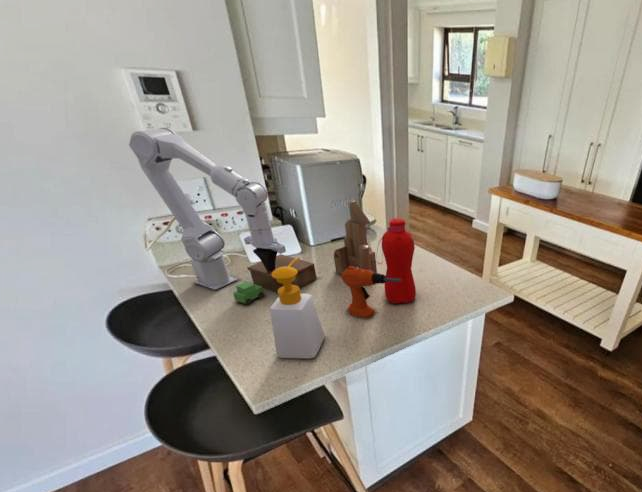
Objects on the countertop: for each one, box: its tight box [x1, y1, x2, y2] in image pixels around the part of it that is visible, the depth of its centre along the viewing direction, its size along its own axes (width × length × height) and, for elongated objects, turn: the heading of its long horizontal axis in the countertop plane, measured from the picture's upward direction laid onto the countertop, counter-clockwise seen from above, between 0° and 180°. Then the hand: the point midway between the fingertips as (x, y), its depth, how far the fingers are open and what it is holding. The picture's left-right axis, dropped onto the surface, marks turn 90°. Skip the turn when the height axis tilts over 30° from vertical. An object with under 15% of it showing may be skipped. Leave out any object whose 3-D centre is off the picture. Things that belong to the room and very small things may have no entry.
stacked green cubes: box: [233, 281, 265, 306], centre depth 108 cm, size 7×4×5 cm, turn 155°
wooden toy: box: [333, 200, 378, 276], centre depth 119 cm, size 16×7×25 cm, turn 57°
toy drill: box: [341, 266, 402, 319], centre depth 101 cm, size 5×19×15 cm, turn 71°
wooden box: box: [249, 265, 317, 293], centre depth 119 cm, size 13×15×5 cm
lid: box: [247, 253, 315, 277], centre depth 117 cm, size 13×15×1 cm
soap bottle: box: [269, 256, 326, 359], centre depth 88 cm, size 10×14×22 cm
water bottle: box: [376, 217, 417, 304], centre depth 108 cm, size 9×11×25 cm
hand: (271, 269), depth 114 cm, fingers closed, pressing on lid
